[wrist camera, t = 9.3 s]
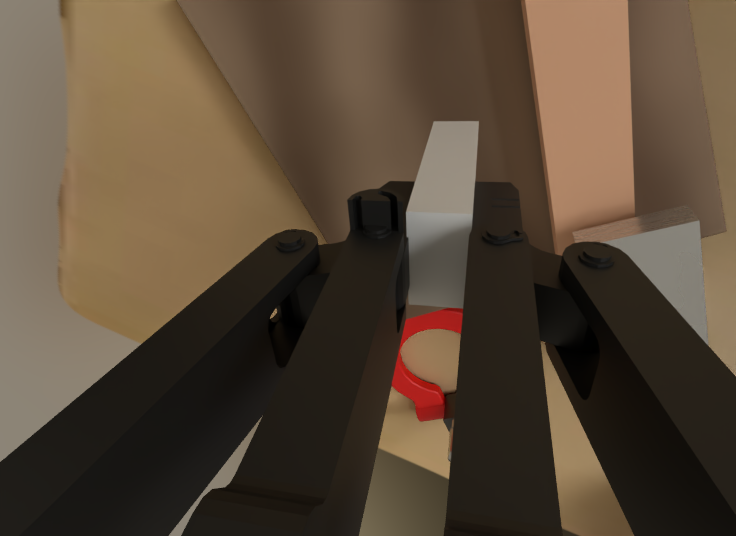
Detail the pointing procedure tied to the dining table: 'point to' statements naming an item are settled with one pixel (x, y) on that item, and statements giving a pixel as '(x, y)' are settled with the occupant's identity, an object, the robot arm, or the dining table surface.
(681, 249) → the keeper
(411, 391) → the tow hook
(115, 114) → the dining table surface
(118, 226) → the dining table surface
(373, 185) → the pintle plate
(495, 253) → the robot arm
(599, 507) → the dining table surface
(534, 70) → the link
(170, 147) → the dining table surface
